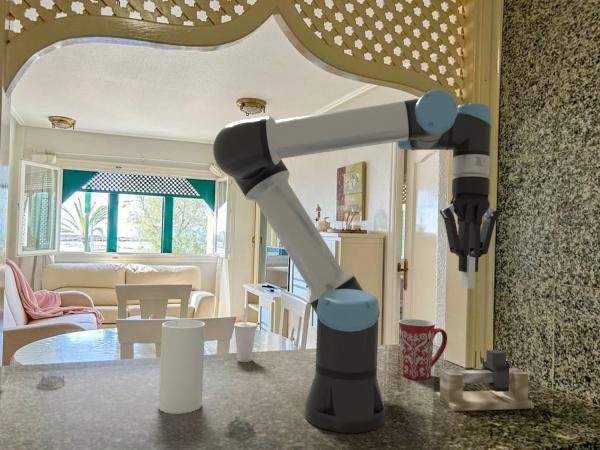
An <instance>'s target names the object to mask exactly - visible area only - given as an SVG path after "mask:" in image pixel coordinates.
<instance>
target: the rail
mask: <svg viewBox="0 0 600 450" xmlns="http://www.w3.org/2000/svg"><path fill="white" fill-rule="evenodd" d="M439 371H440V372H439V373H440V374H439V391H436V392H434V395H435V396H434V397H435V398H436V399H438V400H439V401H440V402H441V403H443V404H444V405H446V407H448V408H449V409H451V410H452V411H453V412H460V411H461V412H463V411H489V410H490V411H491V410H493V411H494V410H520V409H521V410H522V409H535V403H534V402H533V401H531V400H529V399H528V398H529V394H528V393H529V373H527V372H525V371H523V370H521V369H519V368H516V367H512V368H510V367H509V391H505V392H495V391H494V390H468V391H465V390H464V388H463V387H464V384H479V383H481V384H482V383H490V382H494V371H493V370H483V369H478V370H477V369H475V370H473V369H472V370H470V369H469V370H455V369H454V368H453V369H452V368H451V369H449V368H448V369H446V368H445V369H443V368H442V369H440V370H439Z"/></svg>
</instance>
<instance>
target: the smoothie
mask: <svg viewBox="0 0 600 450" xmlns="http://www.w3.org/2000/svg"><path fill="white" fill-rule="evenodd" d="M246 319H247V308H246V307H243V322H241V321H240V322H236V323H234V324H233V329H234V334H235V346H236V347H235V348H236V359H237V362H240V363H247V362H248V363H249V362H251V361H252V357H253V351H254V346H255V345H254V344H255V337H256V333H257V329H258V324H257V323H255V322H249V321H247V320H246Z"/></svg>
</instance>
